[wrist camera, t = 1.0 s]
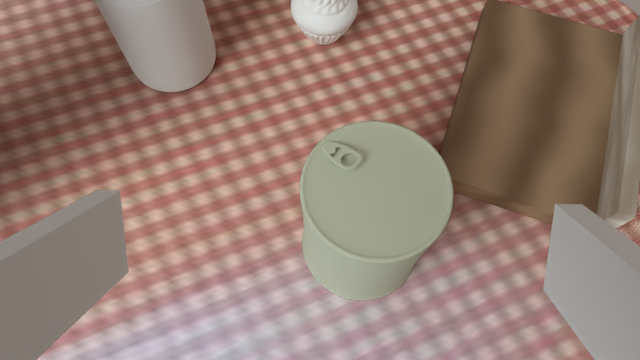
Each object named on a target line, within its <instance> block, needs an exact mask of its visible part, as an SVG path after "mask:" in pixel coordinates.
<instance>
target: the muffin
mask: <svg viewBox="0 0 640 360" xmlns="http://www.w3.org/2000/svg"><path fill="white" fill-rule="evenodd" d="M357 12H358V3H357V0H291V13H292V16H293V19H294V20H295V22H296V23H297V24H298V27H299V28H300V29H301V31H302V32H303V33H304V34H305V35H306V36H307V37H308V38H309V39H310V40H311V41H312V42H315V44H318V45H320V44H321V45H327V44H330V43H333V42H335V41H336V40H337V39H339V38H340V37H341V36H342V35H343V34H344V33H345V32H346V31H347V30H348V28H349V27H350V26H351V24H352V23H353V22H354V20H355V18H356V16H357Z"/></svg>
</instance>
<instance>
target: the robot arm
mask: <svg viewBox="0 0 640 360" xmlns="http://www.w3.org/2000/svg"><path fill="white" fill-rule="evenodd" d="M127 273H128V263H127V253H126V244H125V235H124V226H123V217H122V207H121V198H120V191H104V190H96V191H94V192H92V193H90V194H88V195H87V196H85V197H83V198H81V199H79V200H77V201H75V202H73V203H72V204H70V205H68V206H66V207H64V208H62V209H60V210H59V211H57V212H55V213H53V214H51V215H49V216H47V217H46V218H44V219H42V220H40V221H38V222H36V223H34V224H32V225H31V226H29V227H27V228H25V229H23V230H21V231H19V232H18V233H16V234H14V235H12V236H10V237H8V238H6V239H5V240H3V241H1V242H0V360H37V359H38V358H39V357H40V356H41V355H42V354H43V353H44V352H45V351H46V350H47V349H48V348H49V347H50V346H51V345H52V344H53V343H54V342H55V341H56V340H58V339H59V338H60V337H61V336H62V335H63V334H64V333H65V332H66V331H67V330H68V329H69V328H70V327H71V326H72V325H73V324H74V323H75V322H76V321H77V320H78V319H80V318H81V317H82V316H83V315H84V314H85V313H86V312H87V311H88V310H89V309H90V308H91V307H92V306H93V305H94V304H95V303H96V302H97V301H98V300H99V299H100V298H102V297H103V296H104V295H105V294H106V293H107V292H108V291H109V290H110V289H111V288H112V287H113V286H114V285H115V284H116V283H117V282H118V281H119V280H120V279H121V278H122V277H124V276H125V275H126V274H127ZM543 290H544V291H545V293H546V294H547V295H548V297H549V298H550V300H551V301H552V302H553V304H554V305H555V306H556V308H557V309H558V311H559V312H560V313H561V315H562V316H563V317H564V319H565V320H566V321H567V323H568V324H569V326H570V327H571V328H572V330H573V331H574V332H575V334H576V335H577V336H578V338H579V339H580V341H581V342H582V343H583V345H584V346H585V347H586V349H587V350H588V351H589V353H590V354H591V356H592V357H593V358H594V360H640V246H639V245H637V244H636V243H635V242H633V241H632V240H631V239H629V238H628V237H626V236H625V235H624V234H622V233H621V232H620V231H618V230H617V229H616V228H614V227H613V226H611V225H610V224H609V223H607V222H606V221H605V220H603V219H602V218H600V217H599V216H598V215H596V214H595V213H594V212H592V211H591V210H589V209H588V208H587V207H585V206H584V205H583V204H555V208H554V215H553V222H552V230H551V237H550V244H549V252H548V259H547V266H546V274H545V281H544V288H543Z"/></svg>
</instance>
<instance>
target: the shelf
mask: <svg viewBox="0 0 640 360" xmlns="http://www.w3.org/2000/svg"><path fill="white" fill-rule="evenodd" d="M439 154H440V156H441V157H442V159H443V160H444V162H445V164H446V166H447V168H448V170H449V173H450V176H451V180H452V184H453V191H454V192H457V193H460V194H463V195H466V196H469V197H472V198H475V199H478V200H481V201H484V202H487V203H490V204H493V205H496V206H499V207H502V208H505V209H508V210H511V211H514V212H517V213H520V214H523V215H526V216H529V217H532V218H535V219H538V220H541V221H544V222H547V223H550V224H552V222H553V215H554V208H555V204H583V205H584V206H585V207H587V208H588V209H589V210H591V211H592V212H594V213H595V214H596V215H598V216H599V217H600V218H602V219H603V220H605V221H606V222H607V223H609V224H610V225H611V226H613V227H614V228H618V227H620V226H621V225H623V224H625V223H627V222H629V221H630V220H632V219H634V218H636V209H637V200H638V191H639V182H640V15H639V17H638V18H637V19H636V20H635V21H634V22H633V24H632V25H631V26H630V27H629V28H628V29H627V31H626V32H625V33H624V34H623V35H621V34H617V33H613V32H610V31H606V30H602V29H599V28H595V27H592V26H588V25H584V24H581V23H577V22H574V21H570V20H566V19H563V18H559V17H556V16H552V15H548V14H545V13H541V12H538V11H534V10H530V9H527V8H523V7H520V6H516V5H512V4H509V3H505V2H502V1H498V0H487V1H486V4H485V6H484V8H483V10H482V13H481V16H480V19H479V23H478V26H477V29H476V33H475V36H474V39H473V43H472V46H471V49H470V53H469V56H468V59H467V63H466V66H465V69H464V73H463V76H462V79H461V83H460V86H459V89H458V93H457V96H456V99H455V103H454V106H453V110H452V113H451V116H450V120H449V123H448V126H447V130H446V133H445V136H444V140H443V143H442V146H441V150H440V153H439Z"/></svg>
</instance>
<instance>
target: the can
mask: <svg viewBox="0 0 640 360" xmlns="http://www.w3.org/2000/svg"><path fill="white" fill-rule="evenodd" d="M300 199H301V204H302V208H303V220H304V232H303V239H302V247H303V254H304V258H305V261H306V264H307V266H308V268H309V270H310V272H311V273H312V275H313V276H314V277H315V279H316V280H317V281H318V282H319V283H320V284H321V285H322V286H323V287H325V288H326V289H327V290H329V291H330V292H332V293H334V294H336V295H338V296H340V297H343V298H347V299H351V300H372V299H377V298H380V297H383V296H386V295H388V294H390V293H391V292H393V291H394V290H396V289H397V288H398V287H400V286H401V285H402V284H403V283H404V281H405V280H406V279H407V278H408V276H409V275H410V273H411V271H412V269H413V267H414V265H415V263H416V262H417V261H418V259H419V258H420V257H421V256H422V254H423V253H424V252H425V251H426V249H427V248H428V247H429V246H430V245H432V244H433V243H434V242H435V241H436V239H437V238H438V237H439V236H440V235H441V233H442V232H443V230H444V229H445V227H446V225H447V223H448V221H449V218H450V215H451V211H452V207H453V184H452V180H451V176H450V173H449V170H448V168H447V166H446V164H445V162H444V160H443V159H442V157H441V156H440V154H439V153H438V152H437V150H436V149H435V148H434V147H433V146H432V145H431V144H430V143H429V142H428V141H427V140H425V139H424V138H423V137H421V136H420V135H419V134H417V133H415V132H414V131H412V130H410V129H408V128H405V127H403V126H400V125H397V124H393V123H389V122H382V121H363V122H357V123H352V124H349V125H346V126H343V127H341V128H339V129H337V130H335V131H333V132H332V133H330V134H328V135H327V136H326V137H324V138H323V139H322V140H321V141H320V142H319V143H318V144H317V145H316V146H315V147H314V149H313V150H312V151H311V153H310V154H309V156H308V158H307V160H306V162H305V164H304V167H303V170H302V174H301V179H300Z"/></svg>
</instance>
